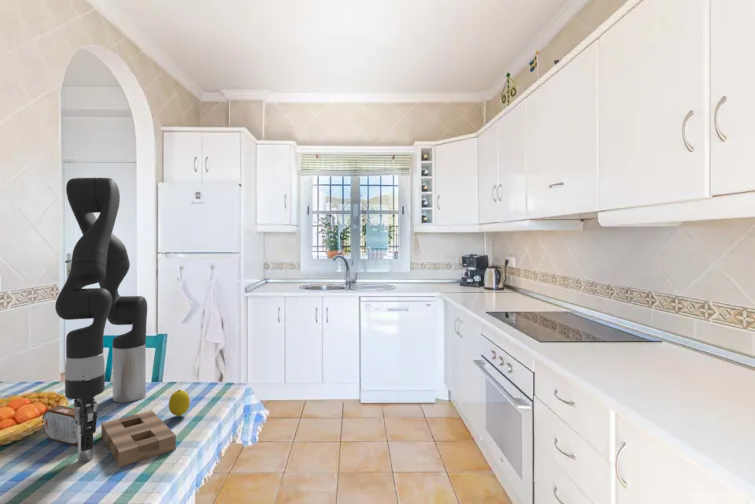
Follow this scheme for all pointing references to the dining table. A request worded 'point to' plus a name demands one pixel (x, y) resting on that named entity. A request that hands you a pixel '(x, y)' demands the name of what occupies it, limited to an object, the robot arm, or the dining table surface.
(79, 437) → the peg
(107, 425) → the hole block
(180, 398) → the lemon
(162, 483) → the dining table surface
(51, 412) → the tin
